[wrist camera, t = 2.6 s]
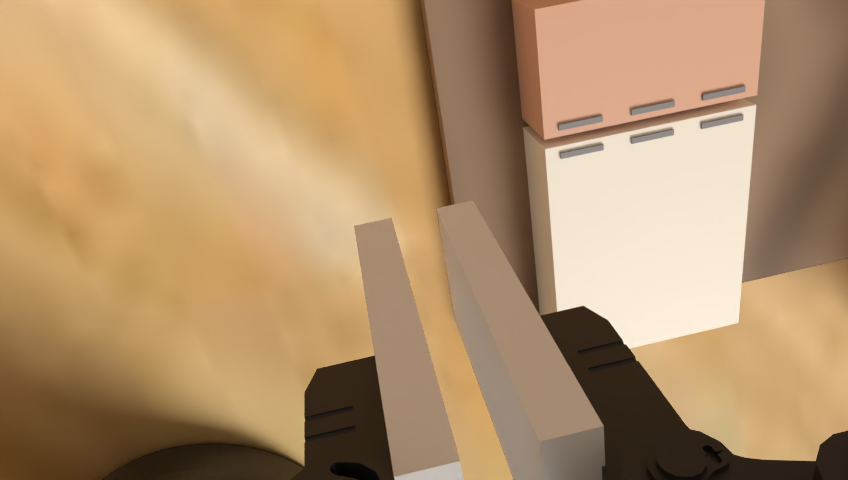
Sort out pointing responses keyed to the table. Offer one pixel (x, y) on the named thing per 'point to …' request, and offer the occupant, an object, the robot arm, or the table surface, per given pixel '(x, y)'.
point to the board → (775, 101)
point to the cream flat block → (645, 220)
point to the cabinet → (631, 59)
